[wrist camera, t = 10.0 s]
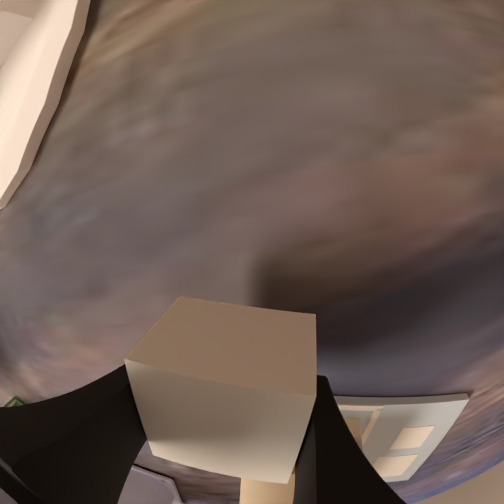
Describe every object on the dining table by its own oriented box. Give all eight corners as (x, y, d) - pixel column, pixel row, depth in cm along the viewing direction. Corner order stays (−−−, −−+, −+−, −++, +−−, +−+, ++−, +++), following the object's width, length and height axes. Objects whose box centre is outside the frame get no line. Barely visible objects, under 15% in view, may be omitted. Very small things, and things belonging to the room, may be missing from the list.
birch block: (249, 472, 17) (238, 515, 13) (256, 409, 14) (242, 467, 11) (327, 479, 16) (324, 523, 12) (359, 418, 14) (364, 475, 10)
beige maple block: (187, 390, 12) (153, 455, 9) (179, 295, 11) (123, 358, 7) (296, 409, 12) (287, 483, 8) (315, 314, 10) (316, 395, 6)
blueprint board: (164, 450, 19) (161, 456, 18) (141, 362, 16) (136, 369, 15) (407, 474, 16) (408, 480, 15) (466, 392, 13) (469, 400, 12)
